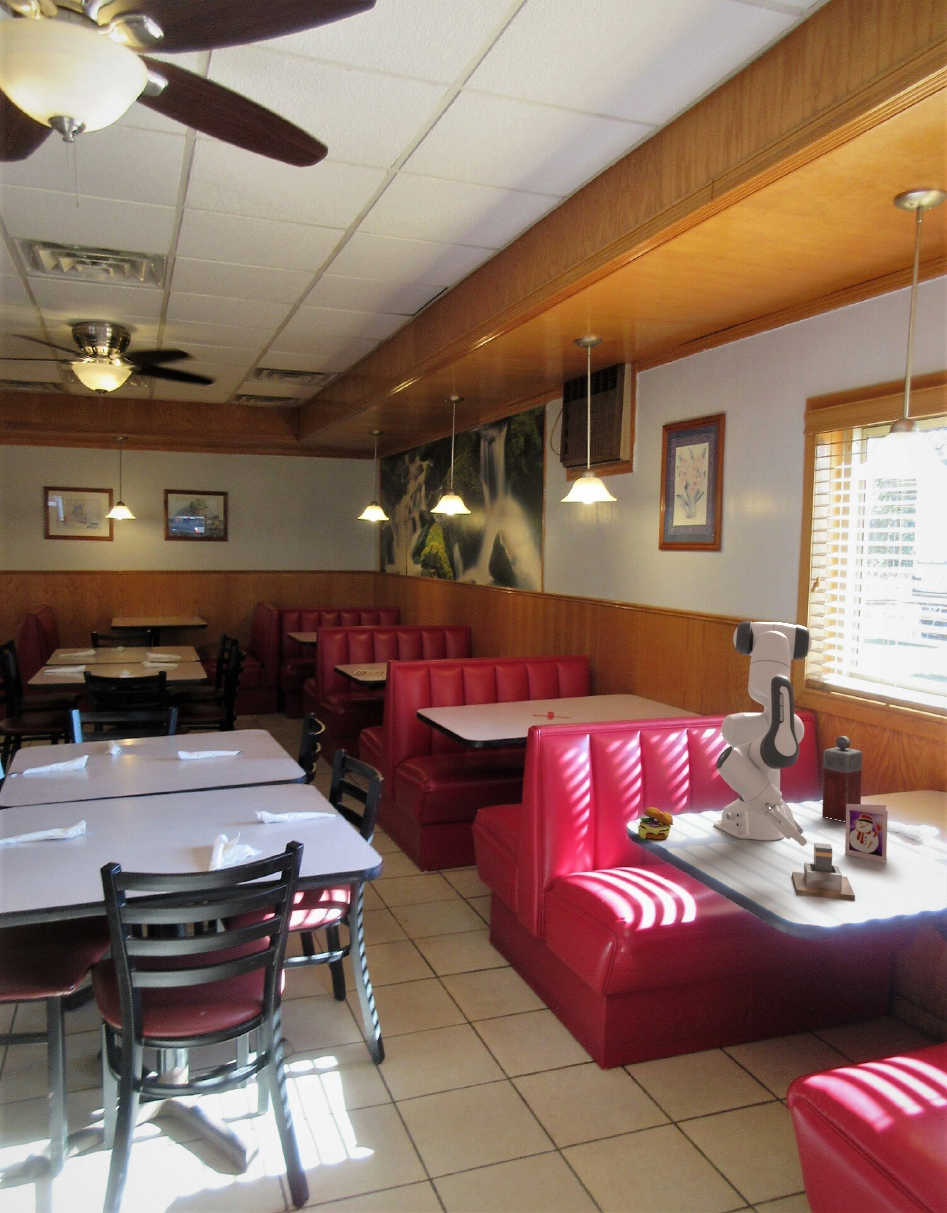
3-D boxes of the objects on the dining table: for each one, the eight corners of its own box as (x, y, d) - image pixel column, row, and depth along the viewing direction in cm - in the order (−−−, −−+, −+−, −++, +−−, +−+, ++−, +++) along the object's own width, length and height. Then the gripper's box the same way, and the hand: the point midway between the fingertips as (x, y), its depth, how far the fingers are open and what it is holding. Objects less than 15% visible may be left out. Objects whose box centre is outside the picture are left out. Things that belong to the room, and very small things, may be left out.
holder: (796, 894, 227) (797, 874, 226) (792, 875, 240) (792, 857, 240) (854, 899, 223) (855, 879, 223) (846, 881, 236) (847, 862, 236)
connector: (815, 884, 230) (815, 847, 230) (813, 879, 234) (814, 842, 234) (831, 886, 229) (832, 848, 229) (829, 881, 233) (830, 844, 232)
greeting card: (844, 854, 259) (845, 804, 258) (851, 848, 264) (852, 799, 264) (885, 863, 251) (886, 811, 251) (892, 856, 257) (893, 806, 256)
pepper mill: (864, 817, 297) (866, 736, 296) (846, 823, 291) (848, 739, 290) (839, 811, 305) (841, 732, 303) (821, 816, 298) (823, 735, 297)
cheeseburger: (629, 834, 277) (635, 802, 278) (653, 837, 282) (659, 806, 283) (650, 842, 268) (656, 809, 269) (675, 845, 273) (681, 813, 274)
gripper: (777, 802, 224) (816, 842, 222) (771, 782, 243) (808, 820, 241) (758, 817, 225) (797, 858, 223) (754, 797, 245) (790, 834, 243)
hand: (803, 838), depth 232 cm, fingers open, 8 cm apart
